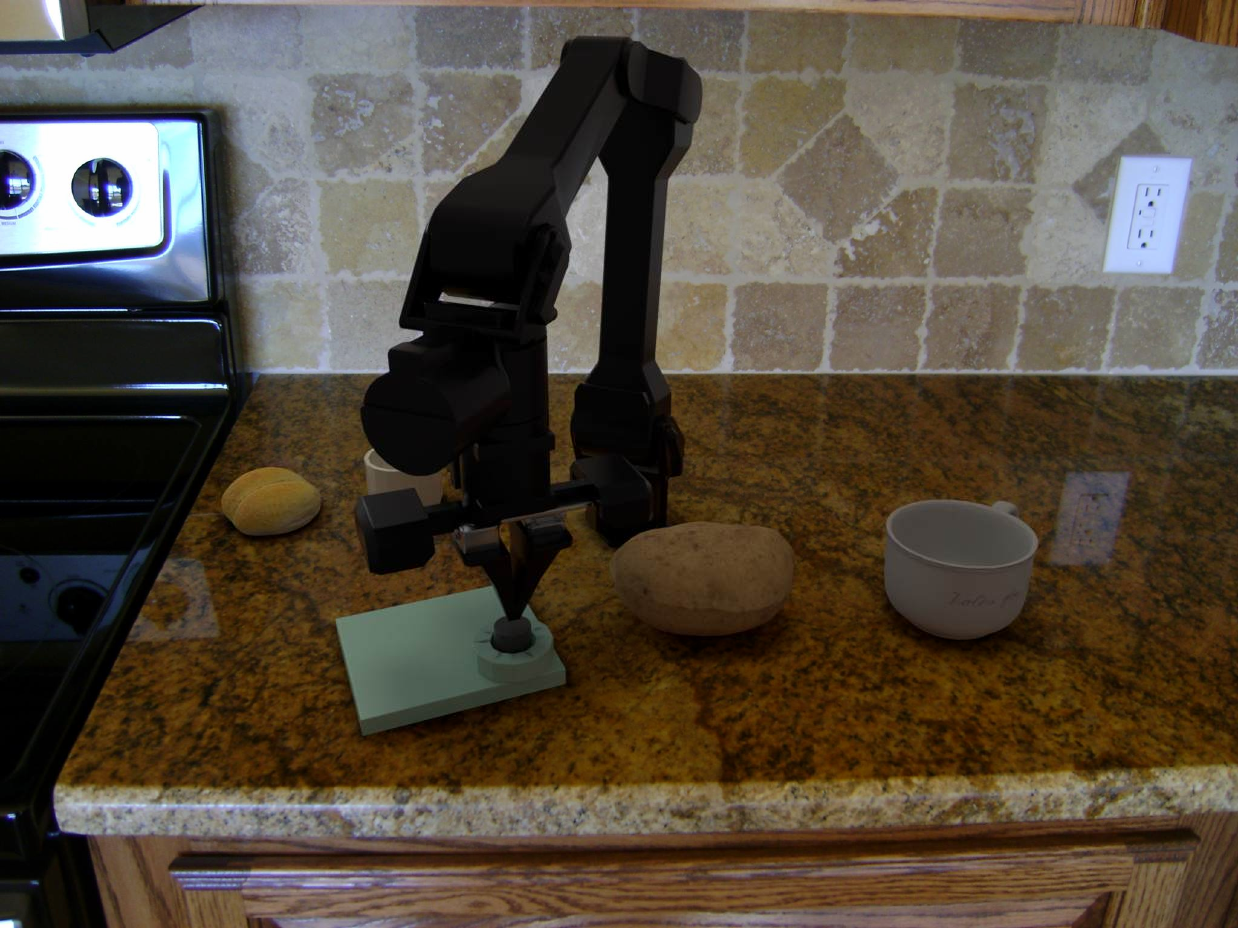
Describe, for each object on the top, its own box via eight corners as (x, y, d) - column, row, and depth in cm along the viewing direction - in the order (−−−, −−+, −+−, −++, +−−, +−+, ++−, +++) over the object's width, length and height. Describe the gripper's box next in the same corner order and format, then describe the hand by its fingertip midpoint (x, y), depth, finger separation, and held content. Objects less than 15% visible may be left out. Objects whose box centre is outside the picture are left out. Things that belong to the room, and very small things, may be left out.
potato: (605, 590, 76) (606, 504, 73) (775, 586, 77) (784, 501, 73) (611, 665, 67) (612, 571, 64) (803, 660, 68) (814, 567, 65)
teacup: (953, 676, 67) (973, 581, 63) (844, 602, 75) (857, 515, 71) (1072, 617, 73) (1096, 529, 70) (960, 555, 82) (977, 473, 78)
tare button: (525, 629, 67) (524, 611, 66) (536, 649, 65) (536, 631, 64) (490, 637, 66) (489, 619, 65) (500, 658, 64) (499, 639, 63)
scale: (515, 595, 75) (514, 563, 74) (567, 686, 65) (566, 651, 64) (337, 633, 70) (332, 600, 69) (363, 739, 60) (358, 702, 59)
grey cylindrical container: (433, 481, 93) (430, 435, 91) (450, 511, 88) (446, 464, 85) (364, 492, 91) (359, 446, 89) (376, 525, 85) (371, 476, 83)
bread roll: (250, 549, 81) (243, 509, 79) (214, 511, 87) (206, 472, 85) (339, 519, 86) (334, 481, 84) (299, 485, 92) (293, 448, 90)
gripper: (595, 350, 67) (595, 536, 74) (329, 383, 61) (356, 585, 68) (660, 405, 58) (653, 612, 65) (355, 451, 52) (383, 676, 58)
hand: (512, 617), depth 64 cm, fingers closed
